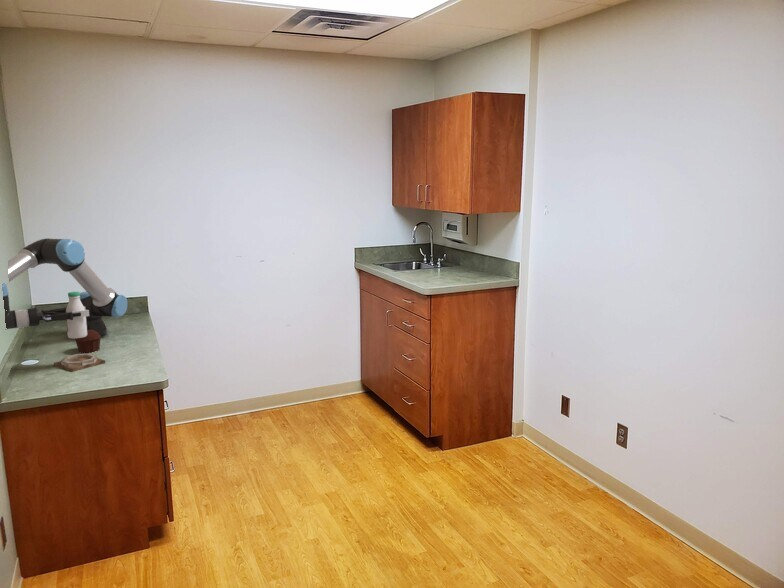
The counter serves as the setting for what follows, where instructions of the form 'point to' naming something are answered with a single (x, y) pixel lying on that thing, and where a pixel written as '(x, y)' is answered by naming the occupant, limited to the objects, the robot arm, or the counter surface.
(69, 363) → the ring stand
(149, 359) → the counter surface
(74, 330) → the milk bottle
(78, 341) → the muffin
